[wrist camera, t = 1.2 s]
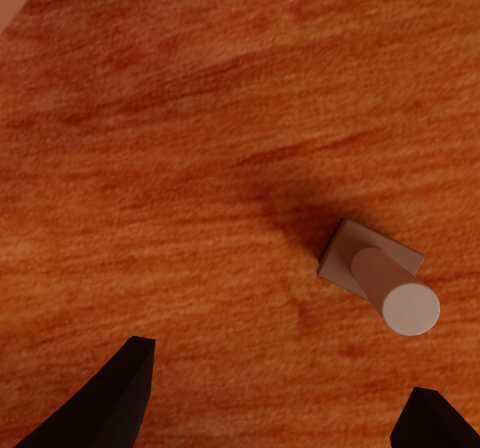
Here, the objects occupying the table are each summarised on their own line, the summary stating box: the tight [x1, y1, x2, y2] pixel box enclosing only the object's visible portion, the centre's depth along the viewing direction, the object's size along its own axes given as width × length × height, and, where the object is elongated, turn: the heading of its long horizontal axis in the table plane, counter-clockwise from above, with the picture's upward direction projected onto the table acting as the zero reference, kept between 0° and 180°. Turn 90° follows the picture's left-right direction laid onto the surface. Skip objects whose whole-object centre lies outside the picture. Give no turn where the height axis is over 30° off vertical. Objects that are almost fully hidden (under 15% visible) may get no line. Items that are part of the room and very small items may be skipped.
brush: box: [316, 217, 440, 336], centre depth 17 cm, size 4×3×9 cm
